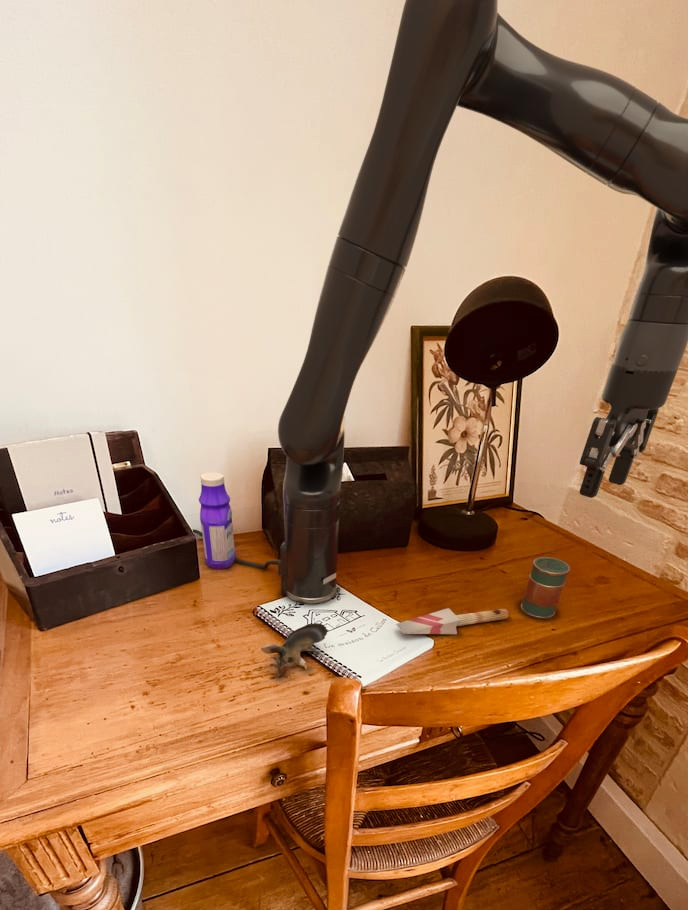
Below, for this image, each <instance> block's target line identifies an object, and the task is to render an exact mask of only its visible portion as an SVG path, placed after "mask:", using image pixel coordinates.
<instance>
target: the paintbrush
mask: <svg viewBox="0 0 688 910" xmlns="http://www.w3.org/2000/svg"><path fill="white" fill-rule="evenodd" d="M508 617H509V612H508V610H507V609H506V608H499V609H494V610H492V609H491V610H485V611H478V612H477V611H476V612H470V613H462V614H455V612H453V611H452V610H451V608H449V607H448V608H443V609H440V610H437V611H434V612H431V613H428V614H424V615H420V616H417V617H415V618H410V619H408V620H405V621H401V622H398V623H395V625H396V626H397V628H398V629H399V630H400V631H401V633H402V634H407V635H410V634H413V635H423V634H424V635H458V631H457V630H458V629H457V627H461V626H469V625H474V624H481V623H488V622H494V621H502V620H506V619H508Z"/></svg>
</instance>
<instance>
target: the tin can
mask: <svg viewBox="0 0 688 910" xmlns="http://www.w3.org/2000/svg"><path fill="white" fill-rule="evenodd" d="M570 569H571V567H570V565H569V564H568V563H566V562H565V561H563V560H562V559H558V558H554V557H550V556H549V557H548V556H544V557H543V556H541V557H537V558H535V559H534V560H533V562H532V568H531V570H530V571H531V572H530V573H529V577H528V580H527V584H526V587H525V591H524V594H523V599H522V601H521V604H520V611H521V612H522V613H523V614H524V615H526V616H528V617H529V618H531V619H536V620H541V621H544V620H545V621H546V620H550V619H552V618H554V617H555V615H556V610H557V608H558V604H559V603H560V599H561V597H562V593H563V590H564V588H565V584H566V581H567V577H568V574H569V573H570Z"/></svg>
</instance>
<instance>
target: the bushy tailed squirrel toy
mask: <svg viewBox="0 0 688 910" xmlns="http://www.w3.org/2000/svg"><path fill="white" fill-rule="evenodd" d="M328 632H329V630H328V629H327V626H326V625H325V624H322V623H319V622H314V623H308V624H306V625H303V626H301V627H299V628H297V629H295V630H293V631H291V632H290V633H288V635H287V637H286V639H285V641H284V643H283V644H282V645H276V644H274V643H271V644H267V645H264V646H262V647H260V651H261V652H263V653H264V654H266V655H272V654H278V656H279V657H278V656H271V657H270V659H273V660H275V662H276V663H269V666H270V667H274V668H276V669H277V673H276V677H277V678H279V677H280V676H282V675H284V673H285V672H286V670H287V669H289V668H294V667H296V666H297V665H299V666H300V667H302V668H304V669H305V670H306V671H307V670H308V666H307V662H306V661H305V659H303V658H302V656H301V653H302V652H315V648H313V645H314V644H318V643H320V642H322V641H324V640H325V639H326V636H327V635H328Z"/></svg>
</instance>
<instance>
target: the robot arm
mask: <svg viewBox="0 0 688 910" xmlns="http://www.w3.org/2000/svg"><path fill="white" fill-rule="evenodd" d="M399 21H400V22H399V26H398V31H397V34H396V35H397V36H396V40H395V44H394V48H393V53H392V58H391V61H390V67H389V70H388V75H387V80H386V84H385V87H384V92H383V96H382V100H381V104H380V108H379V111H378V115H377V119H376V122H375V126H374V129H373V132H372V136H371V138H370V141H369V144H368V146H367V149H366V152H365V153H364V154H365V155H364V157H363V160H362V163H361V165H360V168H359V171H358V173H357V177H356V179H355V182H354V184H353V188H352V191H351V194H350V197H349V199H348V203H347V206H346V208H345V212H344V215H343V217H342V221H341V223H340V226H339V229H338V232H337V236H336V238H335V242H334V244H333V248H332V252H331V255H330V258H329V261H328V265H327V268H326V271H325V275H324V280H323V283H322V287H321V291H320V293H319V298H318V303H317V306H316V310H315V314H314V319H313V322H312V327H311V332H310V336H309V340H308V344H307V349H306V352H305V355H304V358H303V362H302V364H301V367H300V370H299V372H298V374H297V377H296V379H295V382H294V384H293V387H292V389H291V391H290V394H289V397H288V398H287V400H286V403H285V405H284V408H283V409H282V412H281V414H280V416H279V418H278V424H277V436H278V437H277V438H278V442H279V445H280V448H281V450H282V451H283V453H284V455H286V466H285V473H284V479H283V484H282V501H283V503H282V504H283V542H282V544H281V545H280V548H279V553H280V555H279V556H280V559H279V560H268V561H266V562H265V563H264V564H259V563H253V562H249V561H246V560H243V559H240V558H239V557H235V560H234V562H235V563H238V564H240V565H243V566H249V567H252V568H256V569H262V570H263V569H264V570H265V569H268V568H269V566H272V565H273V566H275V565H276V566H277V576H280V586H281V589H280V590H281V595H282V596H286V597H288V599H290V600H292V601H294V602H297V603H301V604H307V605H308V604H309V605H310V604H311V605H315V604H322V603H325V602H328V601H330V600H331V599H333V598H335V596H336V594H337V589H338V588H337V573H338V572H337V571H338V551H339V528H340V527H339V526H340V525H339V524H340V503H341V501H340V500H341V488H342V482H343V473H344V455H345V438H346V420H345V419H346V418H345V413H346V410H347V405H348V402H349V399H350V396H351V393H352V389H353V387H354V384H355V381H356V378H357V376H358V374H359V371H360V369H361V367H362V365H363V364H364V362H365V359H366V358H367V356H368V354H369V352H370V350H371V348H372V346H373V345H374V343H375V341H376V339H377V337H378V335H379V333H380V331H381V329H382V327H383V325H384V323H385V321H386V319H387V316H388V314H389V312H390V309H391V307H392V305H393V303H394V301H395V298H396V295H397V293H398V290H399V288H400V285H401V282H402V280H403V277H404V275H405V272H406V270H407V269H406V268H407V267H408V264H409V260H410V258H411V255H412V252H413V249H414V244H415V242H416V238H417V234H418V231H419V227H420V224H421V221H422V220H421V219H422V215H423V211H424V207H425V203H426V198H427V194H428V189H429V186H430V181H431V177H432V172H433V170H434V165H435V163H436V159H437V156H438V152H439V150H440V147H441V144H442V142H443V140H444V137H445V134H446V132H447V129H448V128H449V126H450V123H451V120H452V119H453V116H454V113H455V111H456V109H457V107H459V108H461V109H465V110H468V111H471V112H473V113H478V114H481V115H483V116H485V117H488V118H490V119H493V120H495V121H497V122H499V123H501V124H504V125H506V126H508V127H510V128H511V129H514V130H516V131H518V132H519V133H521V134H523V135H525V136H526V137H528V138H530V139H531V140H532V141H534V142H536V143H538V144H540V145H541V146H543V147H545V149H548V150H549V151H550V152H552V153H553V154H555V155H557V156H558V157H559V158H562V159H563V160H564V161H566V162H567V163H569V164H571V165H572V166H574V167H575V168H577V169H578V170H580V171H582V173H585V174H586V175H588V176H589V177H591V178H593V179H594V180H596V181H598V182H599V183H600V184H602V185H604V186H606V187H608V188H610V189H611V190H613V191H615V192H617V193H620V194H623V195H629V196H636V197H638V198H640V199H642V200H644V201H645V202H647V203H648V204H650V205H652V206H653V207H655V208H656V211H655V214H654V218H653V223H652V228H651V231H650V237H649V241H648V247H647V252H646V253H647V254H646V257H645V259H646V260H645V264H644V268H643V273H642V275H641V279H640V282H639V284H638V286H637V290H636V292H635V296H634V298H633V301H632V305H631V309H630V312H629V315H628V318H627V321H626V324H625V327H624V329H623V330H622V333H621V335H620V337H619V340H618V343H617V346H616V349H615V352H614V355H613V359H612V362H611V366H610V369H609V372H608V375H607V378H606V381H605V385H604V388H603V391H602V394H601V399H602V401H603V402H604V403H606V404H609V406H610V409H609V411H608V413H607V415H606V417H599V416H596V417H594V419H593V420H592V424H591V427H590V430H589V433H588V435H587V438H586V441H585V445H584V447H583V450H582V452H581V453H582V454H581V457H580V459H579V465H581V466H584V467H585V468H586V469H585V473H584V477H583V478H582V482H581V485H580V488H579V495H581V496H583V497H587V498H589V499H593V498H595V497H596V496H598V493H599V490H600V487H601V485H602V482H603V479H604V475H605V472H606V469H607V467H608V465H609V464H610V463H611V461H612V459H614V458H615V459H614V462H613V465H612V468H611V471H610V474H609V476H608V482H609V483H610V484H614V485H618V486H622V485H624V484H625V483H626V481H627V479H628V477H629V474H630V471H631V468H632V465H633V463H634V460H636V459H637V457H639V454H640V453H643V452H644V451H645V450H646V447H647V444H648V442H649V439H650V436H651V433H652V430H653V427H654V425H655V422H656V419H657V416H658V414H659V409H660V408H662V407H663V406H664V405H666V402H667V400H668V397H669V394H670V391H671V389H672V386H673V383H674V381H675V378H676V376H677V373H678V371H679V367H680V366H681V362H682V360H683V357H684V355H685V352H686V349H687V346H688V118H686V117H684V116H680V115H679V114H677V113H674V112H673V111H671V110H670V109H669V108H668V107H666V106H665V105H664V104H663V103H661V102H659V101H657V100H656V99H655V98H653V97H652V96H650V95H648V94H647V93H645V92H644V91H642V90H641V89H639V88H637V87H636V86H634V85H632V84H631V83H629V82H628V81H626V80H624V79H622V78H620V77H618V76H616V75H614V74H611V73H610V72H607V71H604V70H602V69H599V68H596V67H592V66H589V65H585V64H582V63H578V62H575V61H571V60H568V59H565V58H562V57H560V56H557V55H554V54H553V53H551V52H549V51H547V50H544V49H542V48H541V47H539V46H537V45H535V44H534V43H532V42H531V41H529V40H528V39H527V38H525V37H524V36H523V35H522V34H520V33H519V32H518V31H517V30H516V29H515V28H514V27H513V26H512V25H510V23H508V21H507V20H506V19H505V18H503V16H502V15H501V14H500V13H499V12H498V0H405V1H404V4H403V8H402V13H401V17H400V20H399ZM192 530H193V532H194V533H193V534H196V535H199V536H200V537H201V538H203V535H202V531H200V530H198V529H192Z"/></svg>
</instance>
